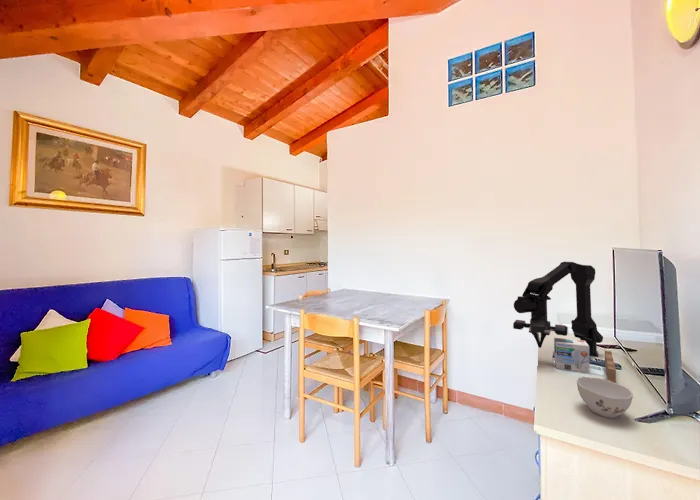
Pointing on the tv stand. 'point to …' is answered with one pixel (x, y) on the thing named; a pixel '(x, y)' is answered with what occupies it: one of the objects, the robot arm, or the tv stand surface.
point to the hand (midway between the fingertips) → (539, 347)
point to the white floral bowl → (604, 396)
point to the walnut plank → (610, 367)
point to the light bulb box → (571, 355)
